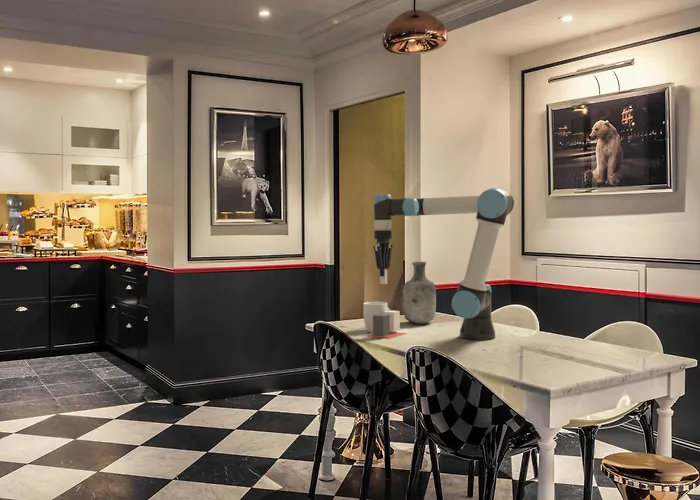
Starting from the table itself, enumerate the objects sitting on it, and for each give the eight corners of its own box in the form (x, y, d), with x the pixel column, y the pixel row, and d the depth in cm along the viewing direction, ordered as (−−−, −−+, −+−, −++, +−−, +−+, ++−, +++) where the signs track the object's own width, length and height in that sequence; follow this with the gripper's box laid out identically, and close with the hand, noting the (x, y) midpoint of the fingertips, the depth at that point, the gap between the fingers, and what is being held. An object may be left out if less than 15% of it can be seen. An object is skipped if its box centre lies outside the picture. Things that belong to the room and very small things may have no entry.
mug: (382, 327, 322) (382, 300, 321) (398, 330, 314) (398, 302, 313) (358, 331, 313) (358, 303, 312) (374, 334, 304) (374, 305, 303)
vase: (398, 321, 338) (397, 261, 337) (428, 320, 343) (427, 260, 341) (410, 327, 323) (410, 263, 321) (441, 324, 328) (441, 262, 326)
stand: (408, 334, 304) (408, 311, 303) (388, 340, 290) (388, 316, 290) (385, 331, 311) (385, 309, 310) (365, 337, 297) (365, 314, 297)
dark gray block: (389, 334, 296) (389, 314, 295) (383, 336, 291) (383, 316, 291) (379, 333, 299) (379, 314, 298) (373, 335, 294) (373, 315, 294)
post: (385, 337, 295) (385, 316, 295) (382, 338, 293) (382, 317, 293) (380, 336, 297) (380, 316, 296) (377, 337, 295) (377, 316, 294)
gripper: (382, 229, 305) (383, 282, 306) (367, 230, 294) (368, 284, 295) (397, 229, 300) (398, 282, 302) (382, 230, 290) (383, 285, 291)
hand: (383, 283), depth 298 cm, fingers closed
